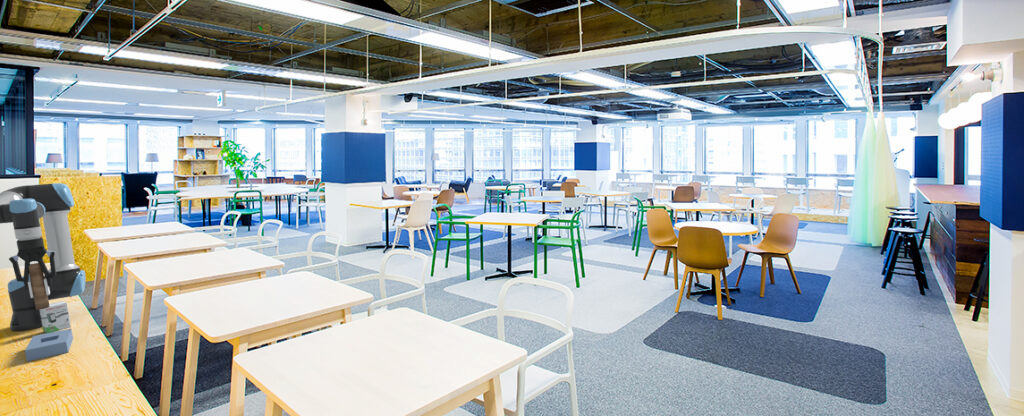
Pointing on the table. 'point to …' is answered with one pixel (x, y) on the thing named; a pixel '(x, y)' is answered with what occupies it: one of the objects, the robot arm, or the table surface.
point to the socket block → (49, 344)
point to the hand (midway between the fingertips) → (40, 295)
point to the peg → (38, 286)
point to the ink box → (55, 317)
